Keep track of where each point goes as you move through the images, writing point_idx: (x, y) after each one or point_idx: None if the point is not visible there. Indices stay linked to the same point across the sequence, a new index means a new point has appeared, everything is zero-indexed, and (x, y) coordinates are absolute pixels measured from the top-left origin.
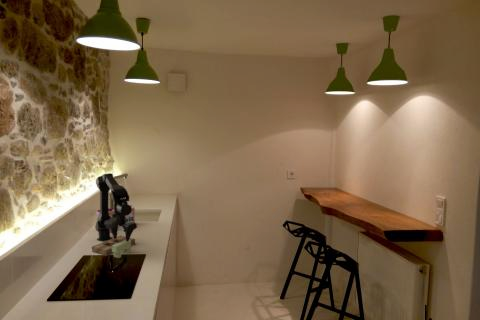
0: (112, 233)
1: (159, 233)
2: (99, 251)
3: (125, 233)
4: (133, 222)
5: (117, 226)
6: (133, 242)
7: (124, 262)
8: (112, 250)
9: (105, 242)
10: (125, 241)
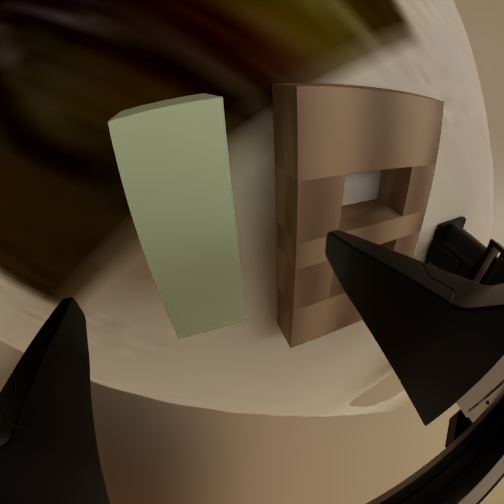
0: (407, 261)
1: (279, 402)
2: (367, 87)
3: (12, 421)
4: None
5: (419, 400)
6: (283, 324)
7: (7, 126)
8: (196, 96)
9: (418, 200)
10: (202, 297)
